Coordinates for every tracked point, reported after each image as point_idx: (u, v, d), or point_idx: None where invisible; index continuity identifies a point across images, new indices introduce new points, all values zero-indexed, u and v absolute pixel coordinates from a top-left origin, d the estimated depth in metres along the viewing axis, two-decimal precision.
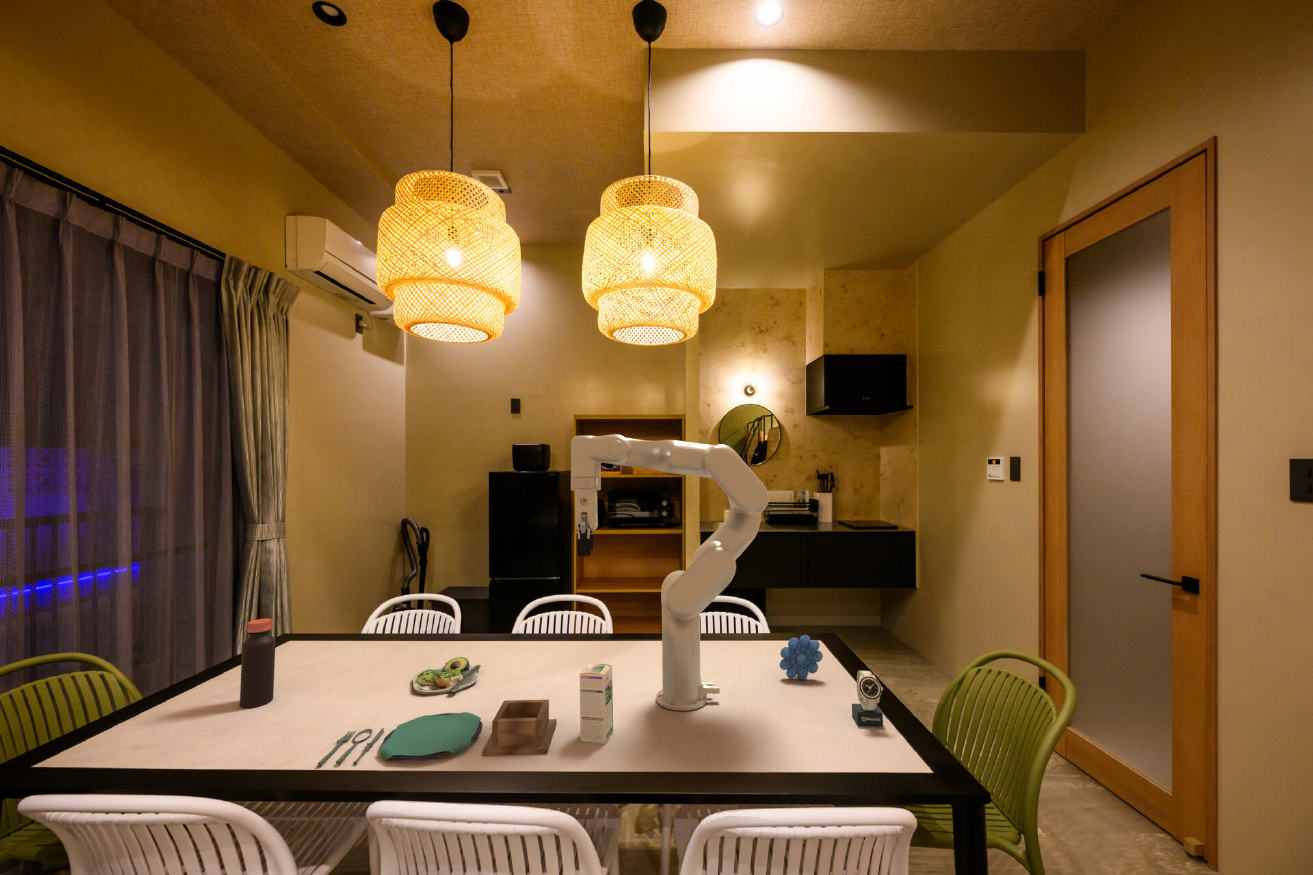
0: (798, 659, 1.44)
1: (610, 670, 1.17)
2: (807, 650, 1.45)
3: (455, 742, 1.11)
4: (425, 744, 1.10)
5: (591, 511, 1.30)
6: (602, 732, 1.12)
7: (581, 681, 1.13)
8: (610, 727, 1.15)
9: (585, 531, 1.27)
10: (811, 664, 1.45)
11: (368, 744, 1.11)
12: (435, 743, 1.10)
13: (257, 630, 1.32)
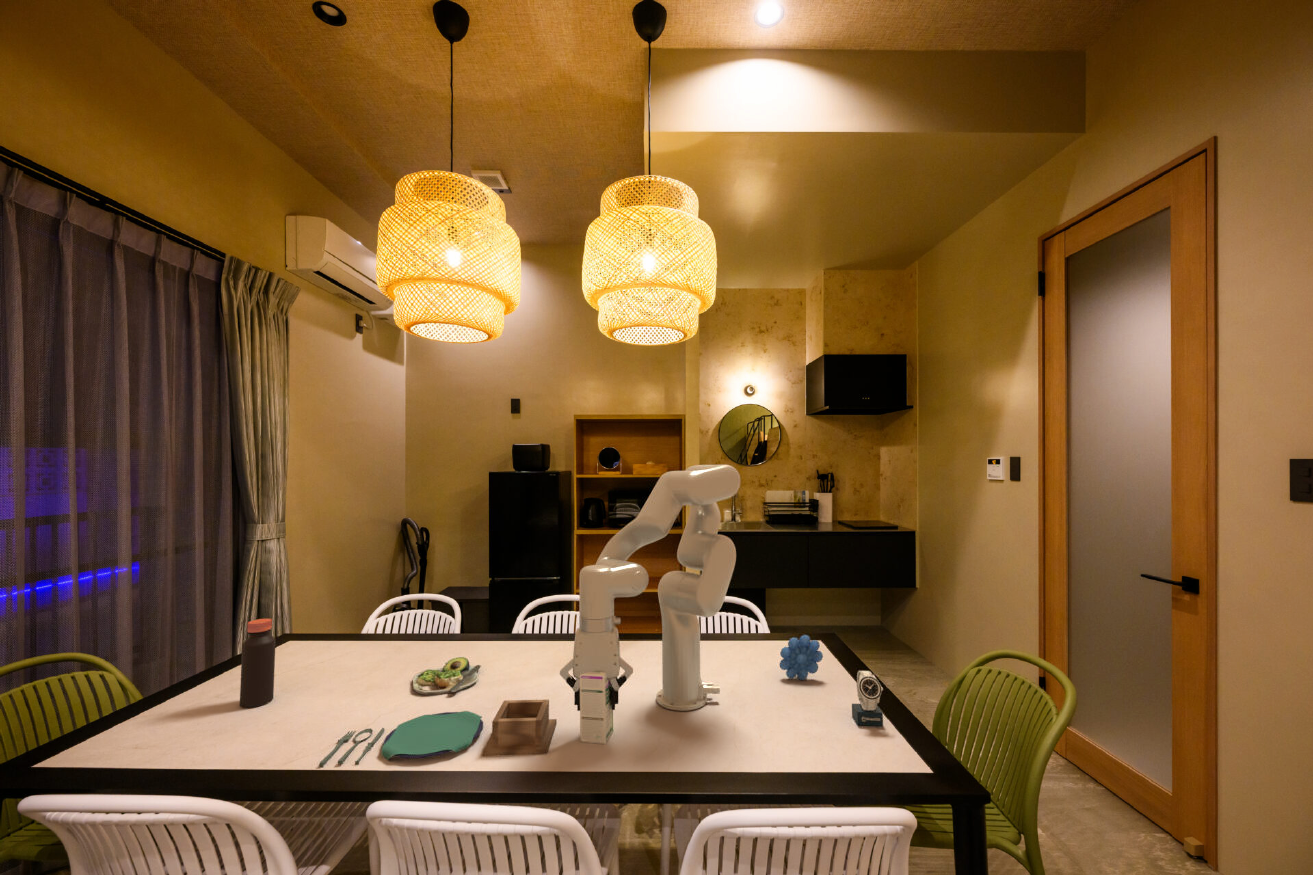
0: (798, 659, 1.44)
1: None
2: (807, 650, 1.45)
3: (457, 741, 1.11)
4: (427, 743, 1.10)
5: None
6: (602, 732, 1.12)
7: (581, 681, 1.13)
8: (610, 727, 1.15)
9: None
10: (811, 664, 1.45)
11: (369, 744, 1.11)
12: (437, 742, 1.11)
13: (257, 630, 1.32)
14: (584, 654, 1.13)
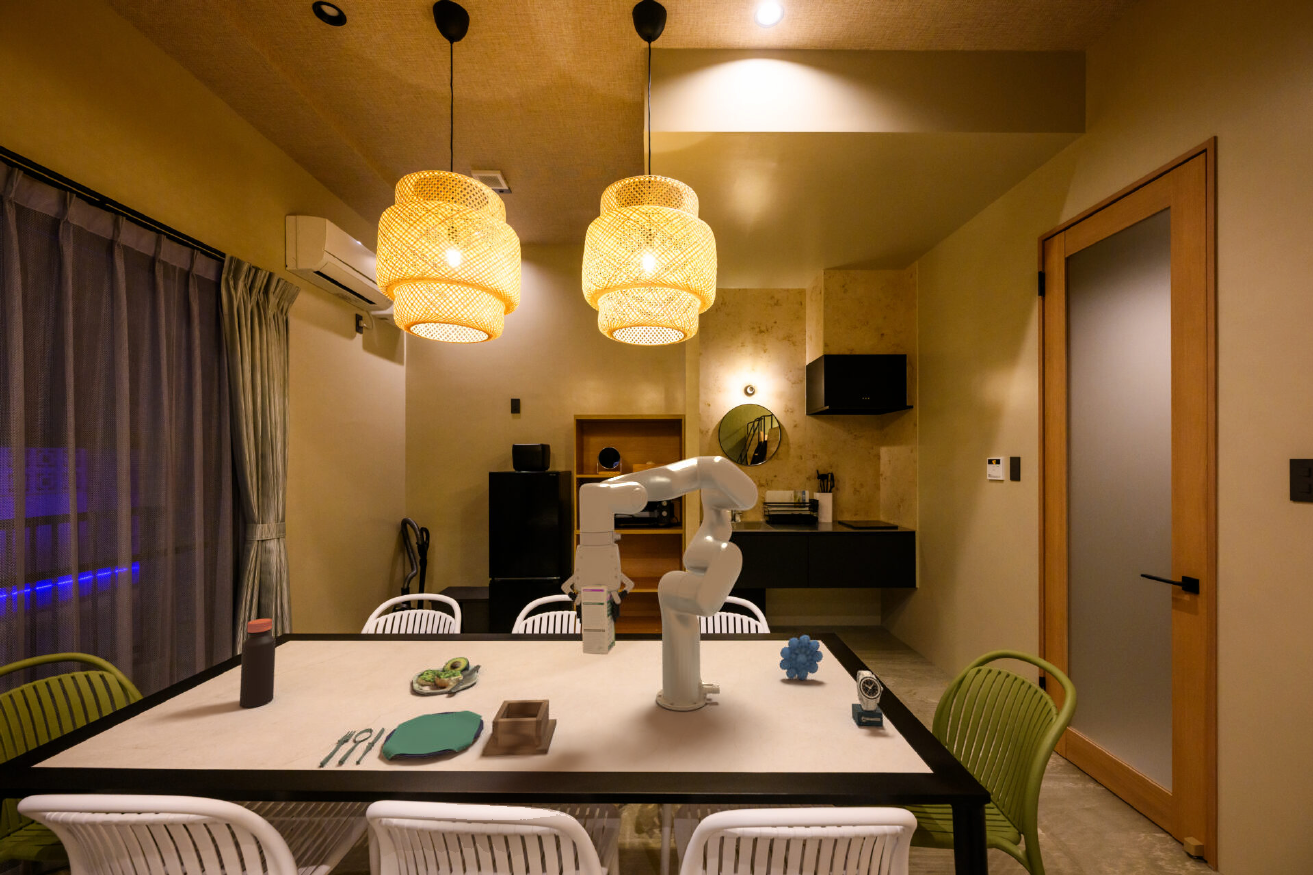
0: (798, 659, 1.44)
1: None
2: (807, 650, 1.45)
3: (457, 740, 1.11)
4: (428, 743, 1.11)
5: None
6: (604, 643, 1.13)
7: (582, 594, 1.15)
8: (612, 640, 1.16)
9: None
10: (811, 664, 1.45)
11: (370, 743, 1.11)
12: (437, 741, 1.11)
13: (257, 630, 1.32)
14: (585, 568, 1.15)
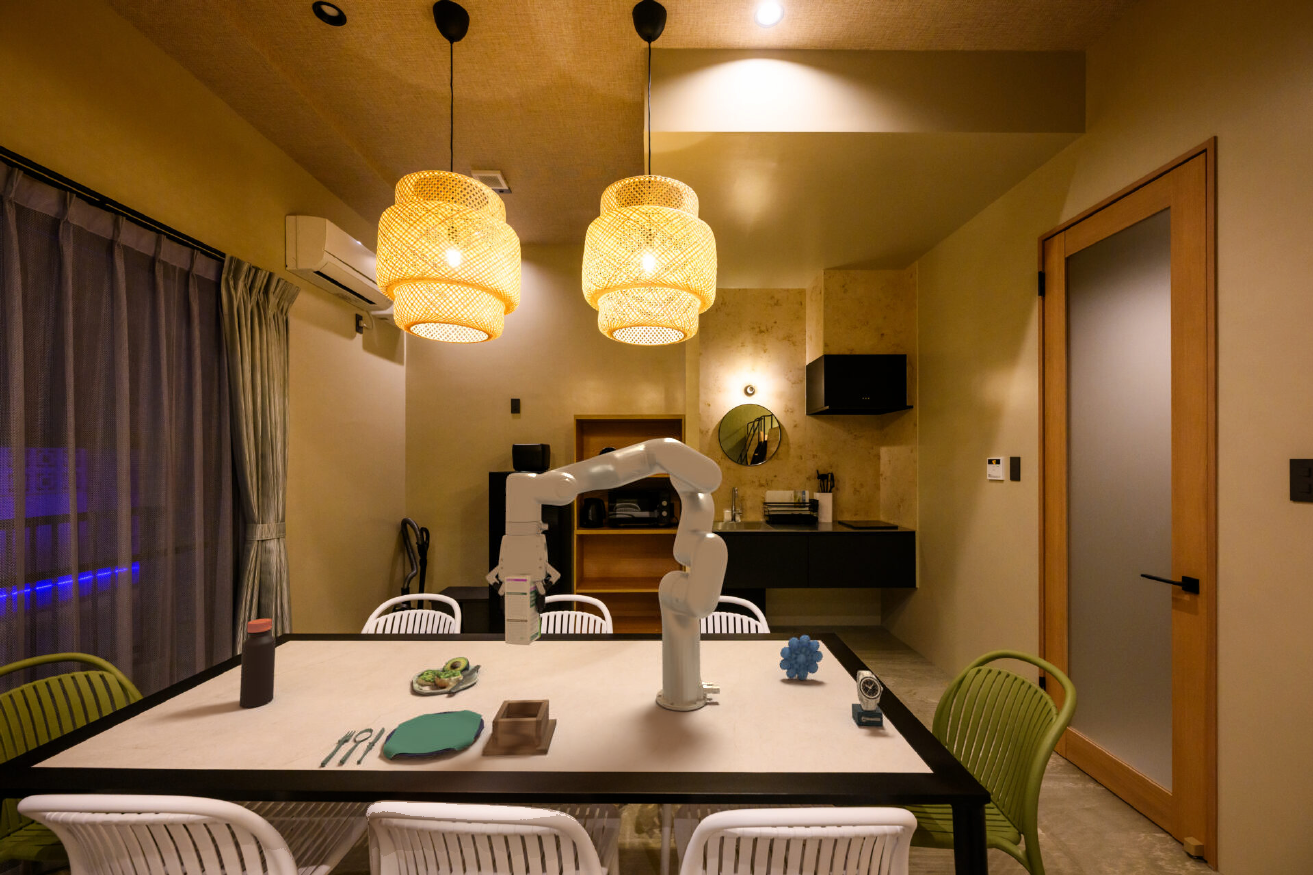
0: (798, 659, 1.44)
1: None
2: (807, 650, 1.45)
3: (458, 739, 1.12)
4: (428, 742, 1.11)
5: (547, 557, 1.18)
6: (526, 633, 1.12)
7: (506, 584, 1.14)
8: (536, 631, 1.15)
9: None
10: (811, 664, 1.45)
11: (370, 743, 1.11)
12: (438, 741, 1.11)
13: (257, 630, 1.32)
14: (509, 557, 1.14)
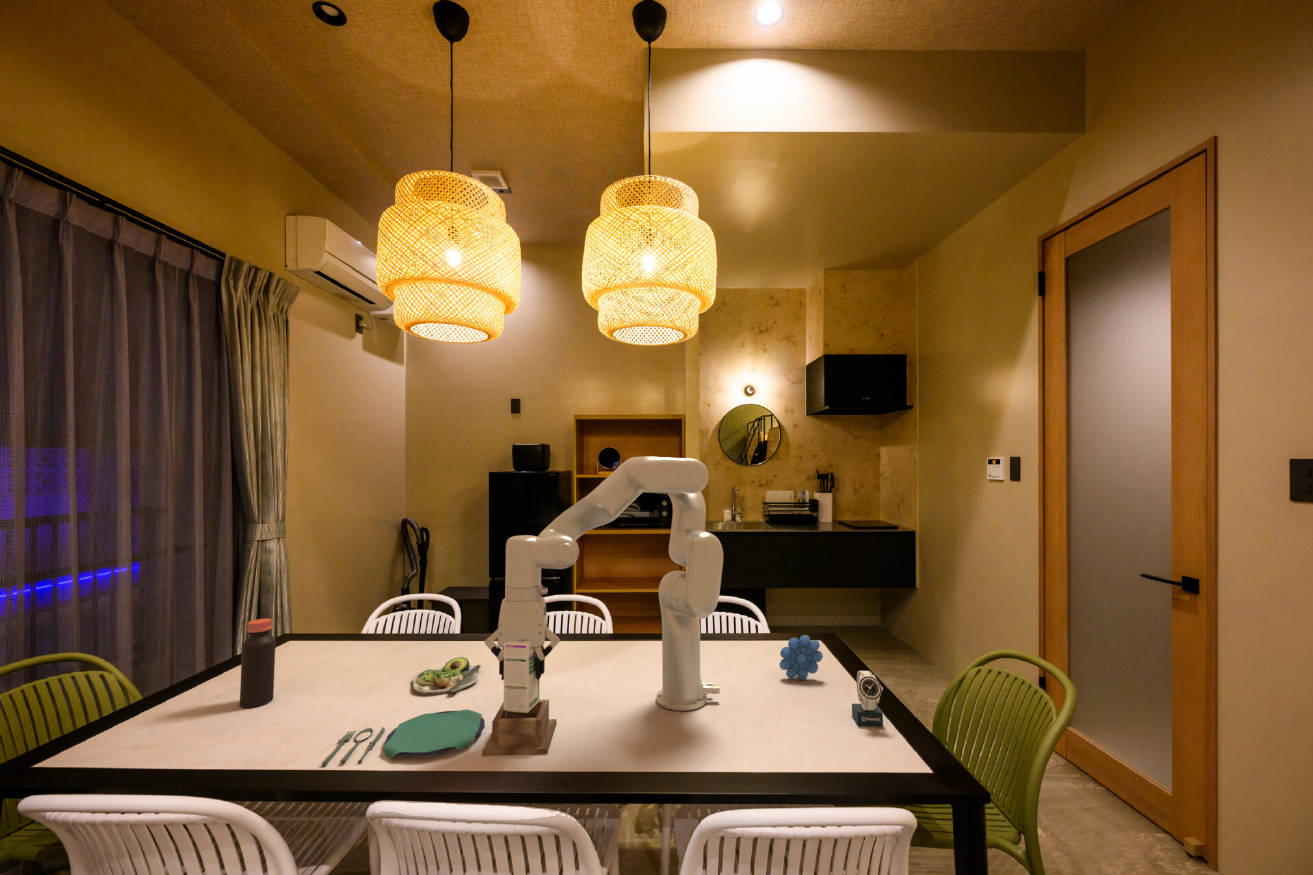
0: (798, 659, 1.44)
1: None
2: (807, 650, 1.45)
3: (459, 738, 1.12)
4: (429, 741, 1.11)
5: None
6: (525, 701, 1.11)
7: (505, 650, 1.13)
8: (535, 696, 1.14)
9: None
10: (811, 664, 1.45)
11: (371, 743, 1.11)
12: (439, 740, 1.12)
13: (257, 630, 1.32)
14: (508, 623, 1.13)
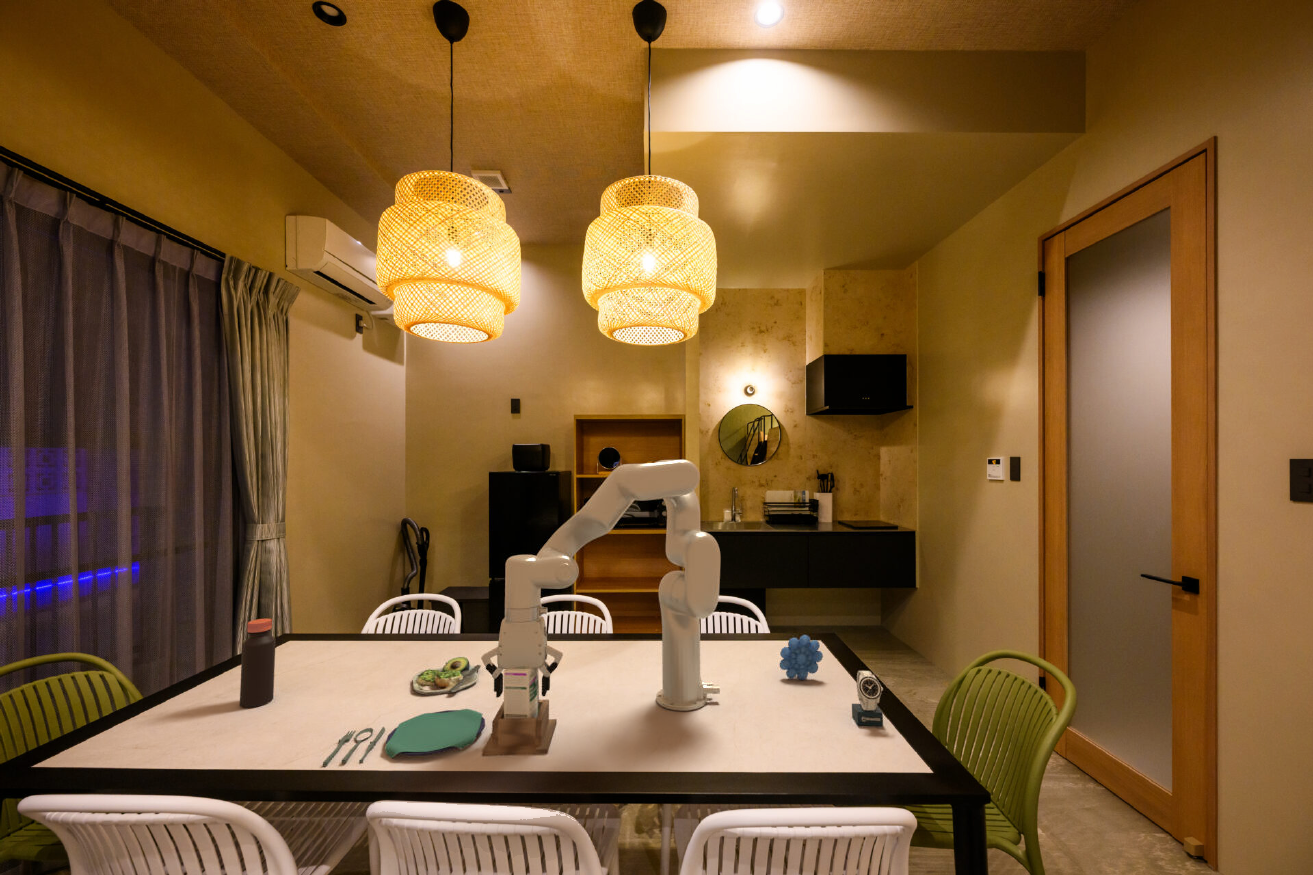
0: (798, 659, 1.44)
1: None
2: (807, 650, 1.45)
3: (460, 738, 1.12)
4: (430, 741, 1.11)
5: None
6: None
7: (505, 678, 1.12)
8: None
9: None
10: (811, 664, 1.45)
11: (371, 742, 1.11)
12: (440, 739, 1.12)
13: (257, 630, 1.32)
14: (508, 644, 1.13)
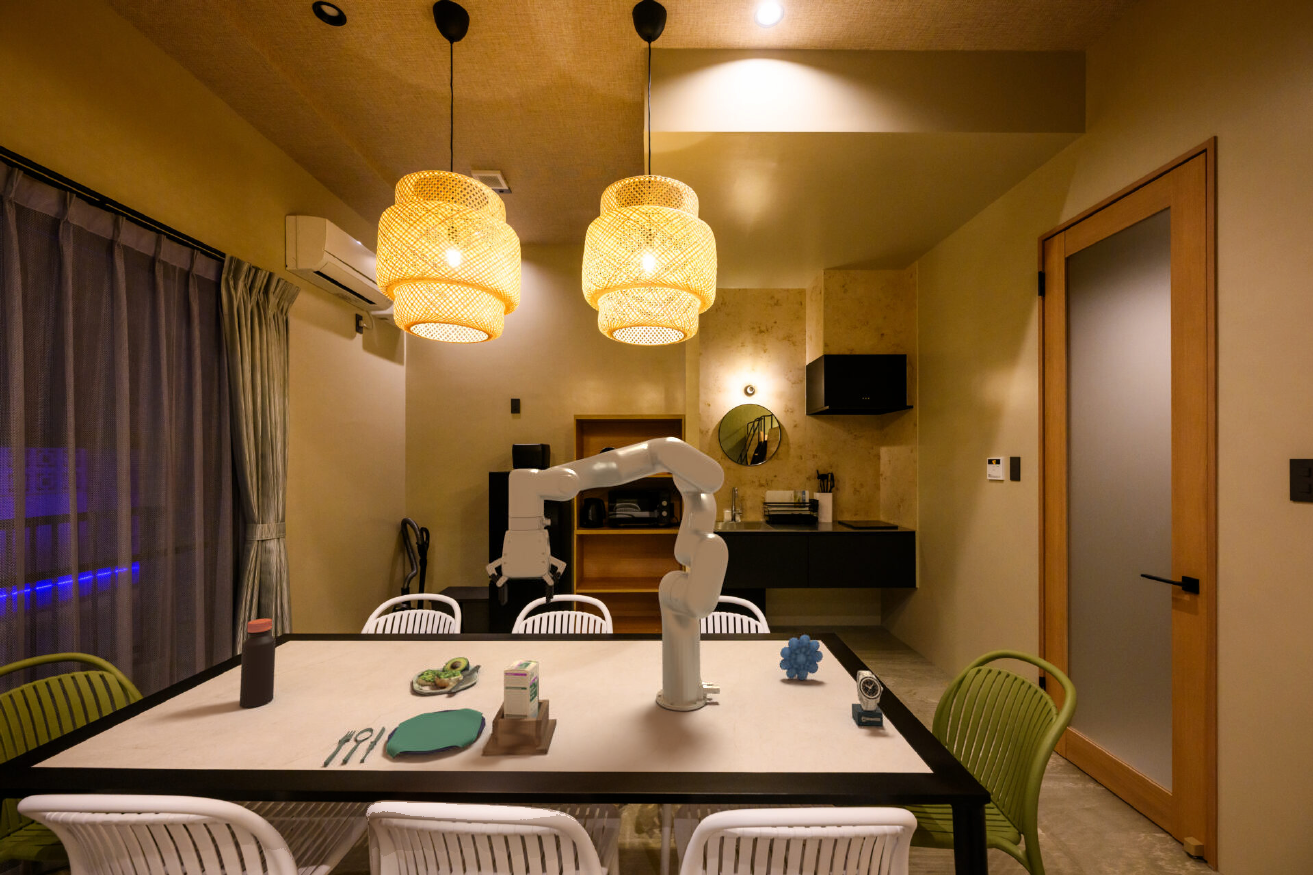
0: (798, 659, 1.44)
1: (536, 667, 1.16)
2: (807, 650, 1.45)
3: (461, 737, 1.13)
4: (431, 740, 1.12)
5: None
6: None
7: (505, 678, 1.12)
8: None
9: None
10: (811, 664, 1.45)
11: (372, 742, 1.12)
12: (441, 738, 1.12)
13: (257, 630, 1.32)
14: (512, 552, 1.15)
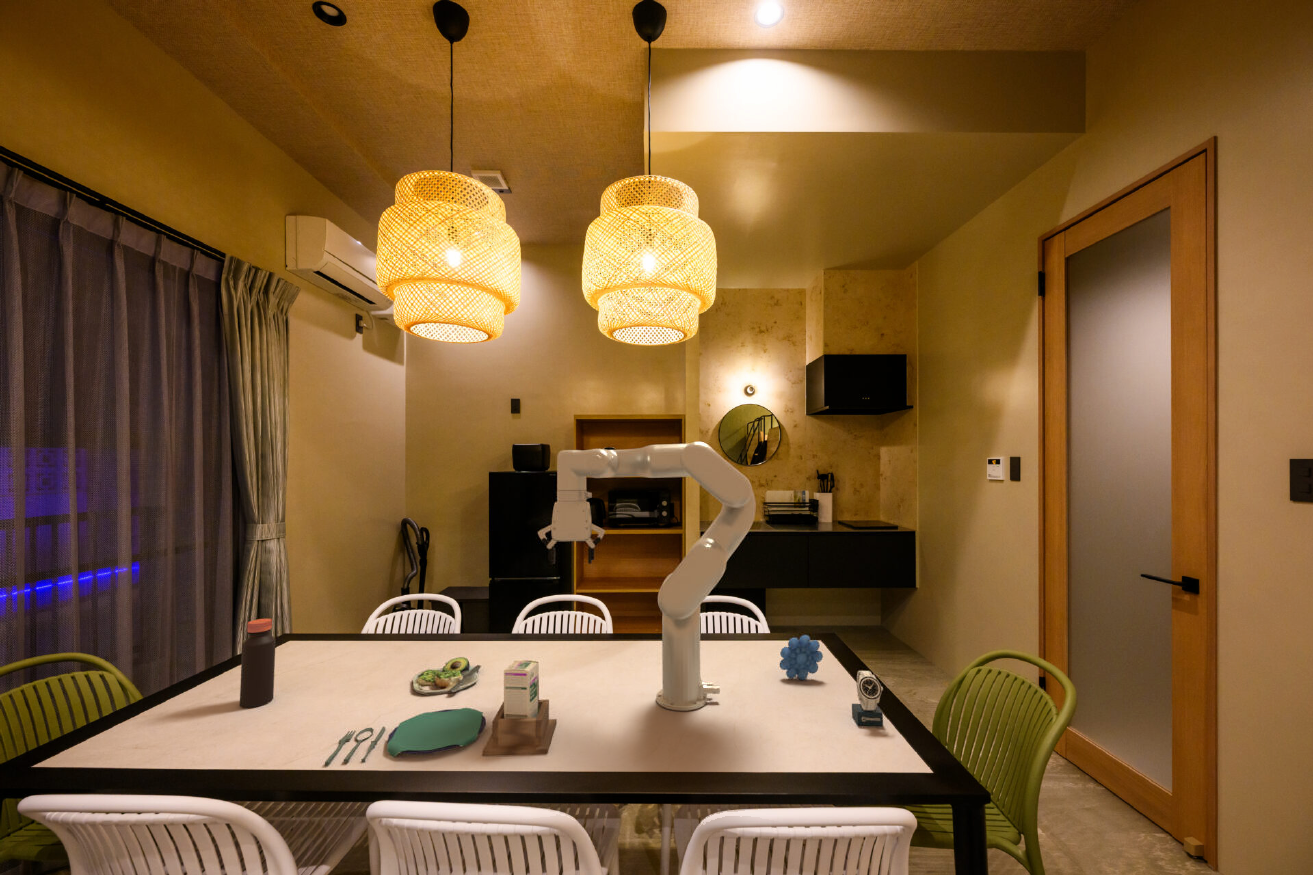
0: (798, 659, 1.44)
1: (536, 667, 1.16)
2: (807, 650, 1.45)
3: (461, 736, 1.13)
4: (432, 739, 1.12)
5: None
6: None
7: (505, 678, 1.12)
8: None
9: None
10: (811, 664, 1.45)
11: (373, 742, 1.12)
12: (441, 738, 1.13)
13: (257, 630, 1.32)
14: (561, 520, 1.37)
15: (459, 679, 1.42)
